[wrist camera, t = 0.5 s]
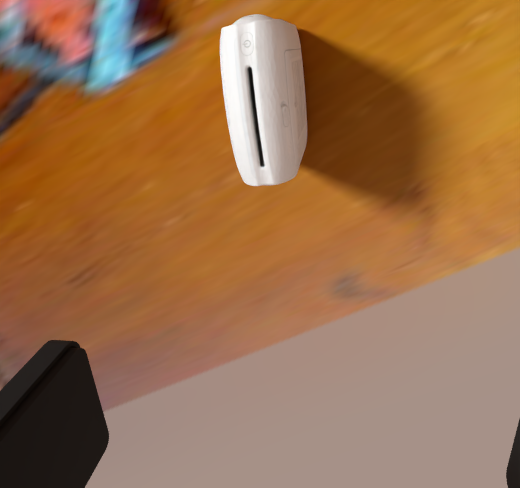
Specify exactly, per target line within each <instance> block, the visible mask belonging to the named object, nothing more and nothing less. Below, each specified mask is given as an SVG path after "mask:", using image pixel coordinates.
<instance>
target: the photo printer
mask: <svg viewBox="0 0 520 488" xmlns="http://www.w3.org/2000/svg"><path fill="white" fill-rule="evenodd" d="M220 63H221V74H222V84H223V93H224V101H225V108H226V115H227V121H228V127H229V132H230V138H231V143H232V147H233V152H234V156H235V160H236V164H237V167H238V170H239V172H240V175H241V177H242V179H243V181H244V182H245V183H246V184H248V185H252V186H261V185H277V184H281V183H284V182H287V181H289V180H291V179H293V178H294V177H295V176H296V175H297V172H298V169H299V166H300V163H301V160H302V157H303V154H304V151H305V148H306V143H307V112H306V97H305V84H304V72H303V62H302V53H301V44H300V39H299V35H298V31H297V28H296V26H295V25H293V24H291V23H288V22H286V21H284V20H281V19H273V18H270V17H267V16H265V15H260V14H255V15H249V16H245V17H242V18H240V19H238V20H237V21H236V22H235V23H233V24H232V25H230V26H226V27H223V28H222V29H221V38H220Z"/></svg>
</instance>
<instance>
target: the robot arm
mask: <svg viewBox="0 0 520 488" xmlns="http://www.w3.org/2000/svg"><path fill="white" fill-rule="evenodd" d="M108 441H109V433H108V428H107V425H106V421H105V418H104V414H103V411H102V407H101V403H100V400H99V396H98V393H97V389H96V386H95V382H94V378H93V375H92V371H91V368H90V364H89V361H88V357H87V354H86V351H85V350H84V349H83V348H80V345H79V344H78V343H77V342H75V341H61V340H51V341H48V342H47V343H46V344H44V345H43V347H42V348H41V349H40V350H39V351H38V352H37V353H36V354H35V355H34V356H33V357H32V358H31V359H30V360H29V361H28V362H27V363H26V364H25V365H24V367H23V368H22V369H21V370H20V371H19V372H18V373H17V374H16V375H15V376H14V377H13V378H12V379H11V380H10V381H9V382H8V383H7V384H6V385H5V386H4V388H3V389H2V390H1V391H0V488H85V486H86V484H87V482H88V480H89V479H90V477H91V475H92V473H93V472H94V470H95V468H96V466H97V464H98V463H99V461H100V459H101V457H102V456H103V454H104V452H105V450H106V448H107V445H108ZM506 478H507V485H508V488H520V420H519V423H518V427H517V431H516V436H515V439H514V443H513V448H512V451H511V455H510V459H509V463H508V467H507V473H506Z"/></svg>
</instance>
